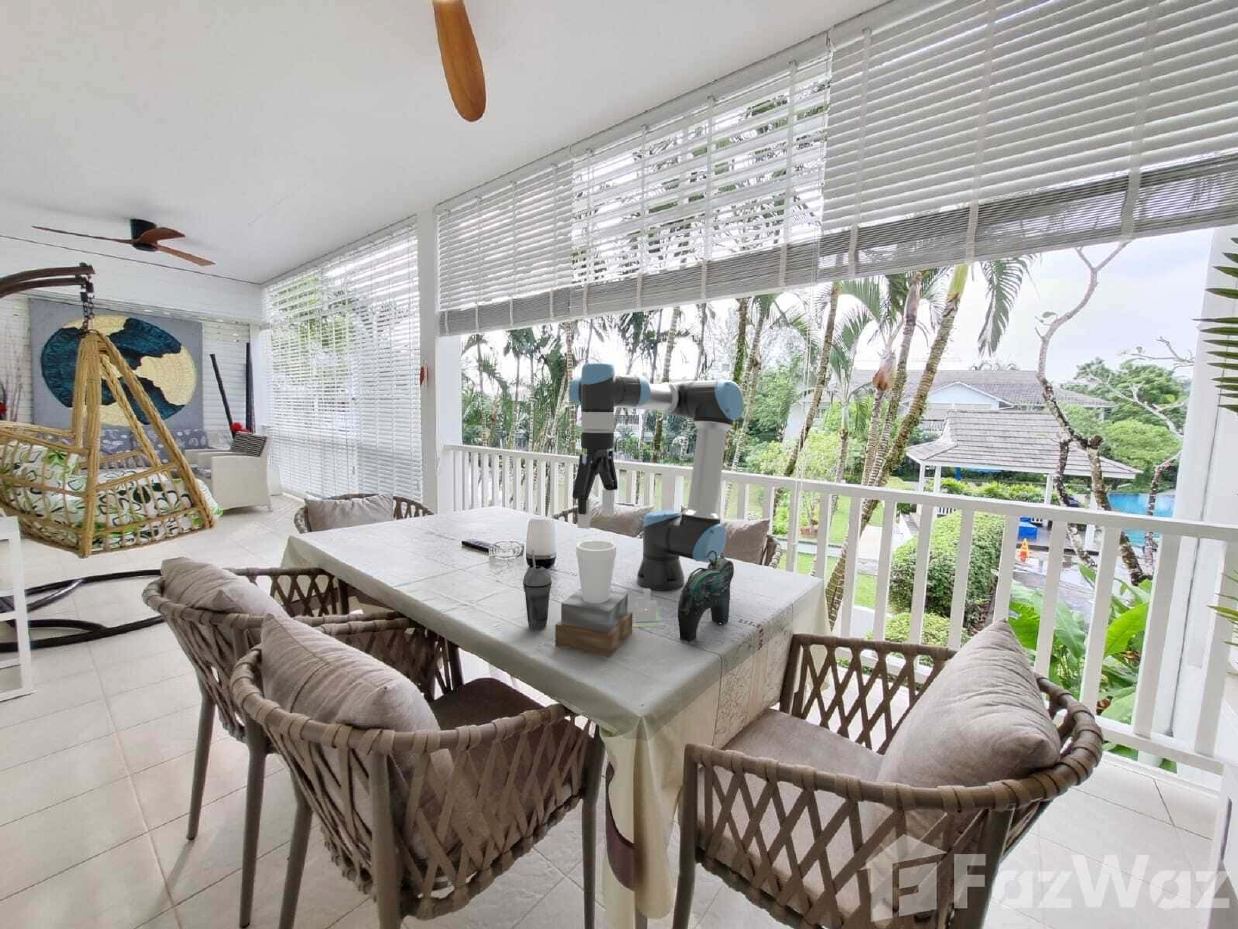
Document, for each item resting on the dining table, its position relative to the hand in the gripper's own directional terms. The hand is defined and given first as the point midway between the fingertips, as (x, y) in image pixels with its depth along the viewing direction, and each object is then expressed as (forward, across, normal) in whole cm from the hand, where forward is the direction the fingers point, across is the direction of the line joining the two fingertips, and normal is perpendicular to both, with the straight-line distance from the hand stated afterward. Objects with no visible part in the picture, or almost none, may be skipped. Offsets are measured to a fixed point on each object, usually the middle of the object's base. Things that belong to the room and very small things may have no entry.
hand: (596, 521), depth 117 cm
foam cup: (+19, 0, 0) cm, 19 cm away
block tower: (+29, 0, 0) cm, 29 cm away
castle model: (+29, -16, +3) cm, 34 cm away
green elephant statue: (+29, -16, +24) cm, 41 cm away
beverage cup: (+29, 0, -16) cm, 33 cm away
